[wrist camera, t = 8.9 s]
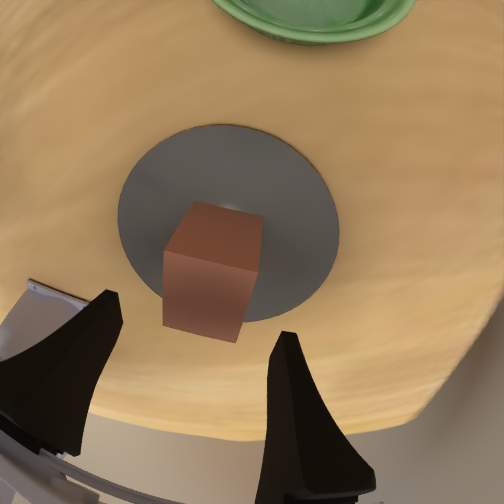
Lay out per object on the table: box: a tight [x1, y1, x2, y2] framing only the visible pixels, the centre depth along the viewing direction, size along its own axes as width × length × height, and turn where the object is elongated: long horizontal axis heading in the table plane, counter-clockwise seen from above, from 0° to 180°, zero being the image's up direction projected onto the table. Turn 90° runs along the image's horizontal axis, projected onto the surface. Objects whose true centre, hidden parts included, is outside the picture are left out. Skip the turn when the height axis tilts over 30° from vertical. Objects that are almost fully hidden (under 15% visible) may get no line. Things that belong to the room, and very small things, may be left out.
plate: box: [118, 124, 339, 322], centre depth 17 cm, size 14×14×1 cm
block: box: [163, 201, 264, 343], centre depth 15 cm, size 4×5×5 cm
